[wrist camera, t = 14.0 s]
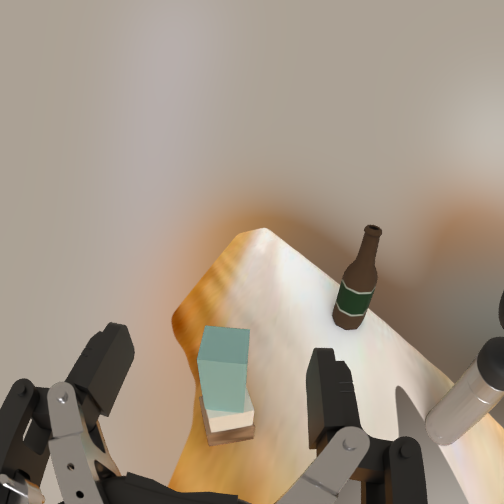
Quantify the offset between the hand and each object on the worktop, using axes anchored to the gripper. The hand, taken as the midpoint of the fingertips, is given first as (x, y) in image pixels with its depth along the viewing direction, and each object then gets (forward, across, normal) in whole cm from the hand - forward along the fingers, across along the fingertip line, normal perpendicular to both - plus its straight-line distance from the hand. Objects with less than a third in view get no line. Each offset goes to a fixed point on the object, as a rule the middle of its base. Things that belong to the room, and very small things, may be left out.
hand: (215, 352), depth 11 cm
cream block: (+12, +2, +29) cm, 32 cm away
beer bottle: (+40, -23, +34) cm, 58 cm away
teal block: (+12, +2, +24) cm, 27 cm away
